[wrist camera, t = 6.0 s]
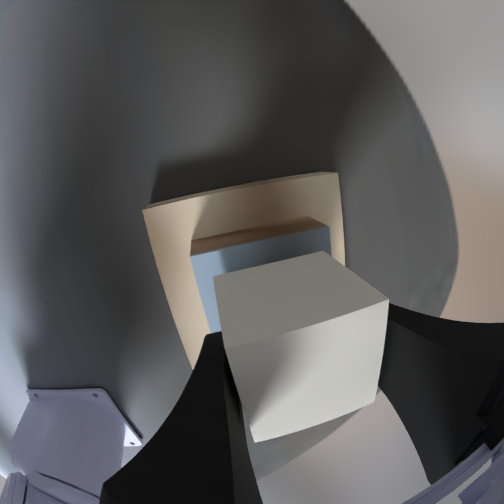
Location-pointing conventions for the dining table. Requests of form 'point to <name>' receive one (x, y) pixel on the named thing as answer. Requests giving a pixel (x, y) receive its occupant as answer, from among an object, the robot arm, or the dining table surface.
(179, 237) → the base
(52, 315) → the dining table surface
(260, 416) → the cream cube
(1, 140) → the dining table surface
